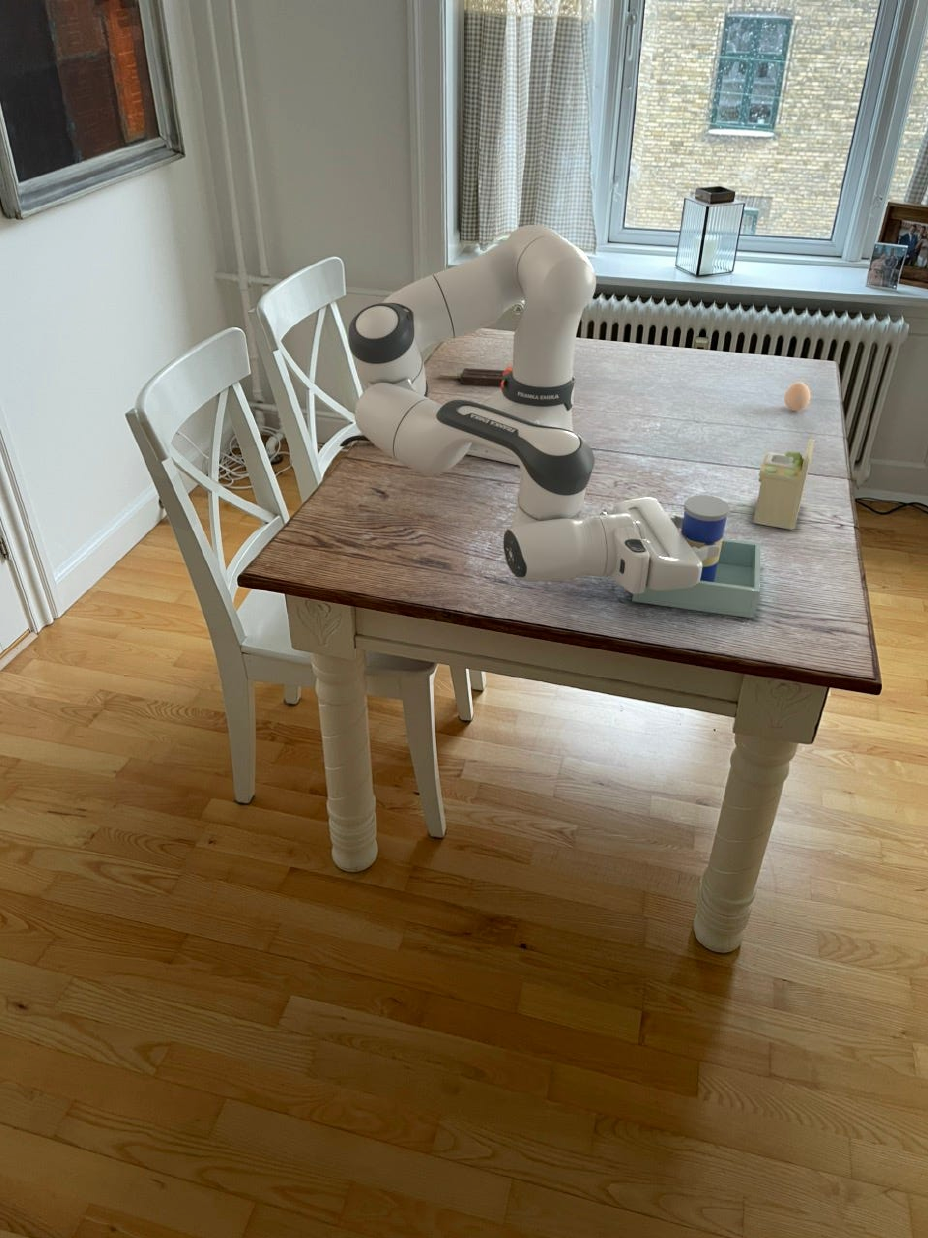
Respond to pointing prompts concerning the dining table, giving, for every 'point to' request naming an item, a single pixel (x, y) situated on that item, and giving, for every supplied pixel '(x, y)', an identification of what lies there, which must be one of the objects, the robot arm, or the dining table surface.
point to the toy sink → (782, 487)
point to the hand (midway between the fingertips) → (707, 536)
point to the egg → (797, 396)
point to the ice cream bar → (478, 376)
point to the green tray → (719, 584)
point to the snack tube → (705, 527)
